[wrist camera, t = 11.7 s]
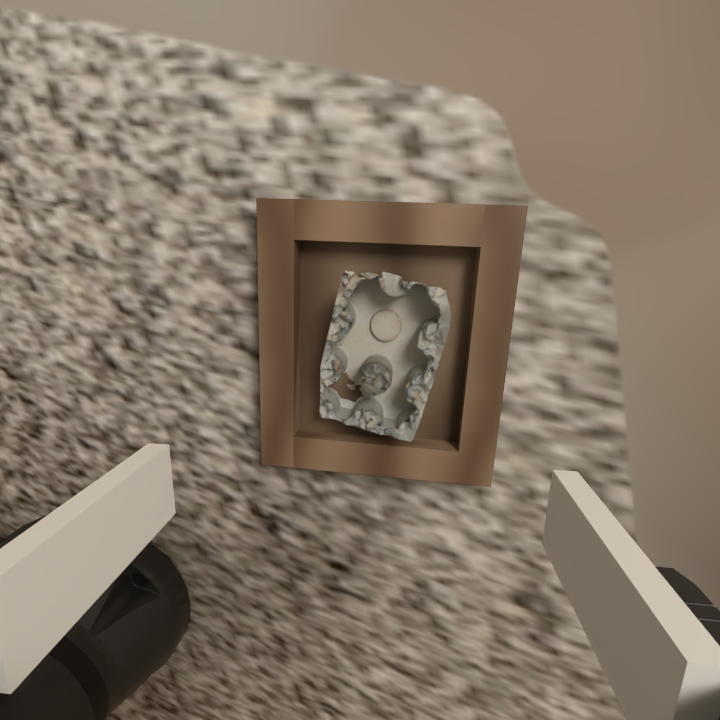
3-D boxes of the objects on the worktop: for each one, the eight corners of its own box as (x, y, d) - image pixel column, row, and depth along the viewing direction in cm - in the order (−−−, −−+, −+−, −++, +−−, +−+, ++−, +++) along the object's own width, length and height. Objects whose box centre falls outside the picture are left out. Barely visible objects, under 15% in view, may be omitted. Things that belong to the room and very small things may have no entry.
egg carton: (350, 261, 29) (341, 261, 25) (455, 289, 28) (463, 293, 24) (317, 401, 32) (303, 421, 28) (412, 428, 31) (413, 452, 27)
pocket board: (271, 449, 34) (261, 464, 31) (269, 203, 29) (256, 198, 27) (484, 469, 32) (490, 486, 30) (517, 210, 27) (527, 205, 25)
